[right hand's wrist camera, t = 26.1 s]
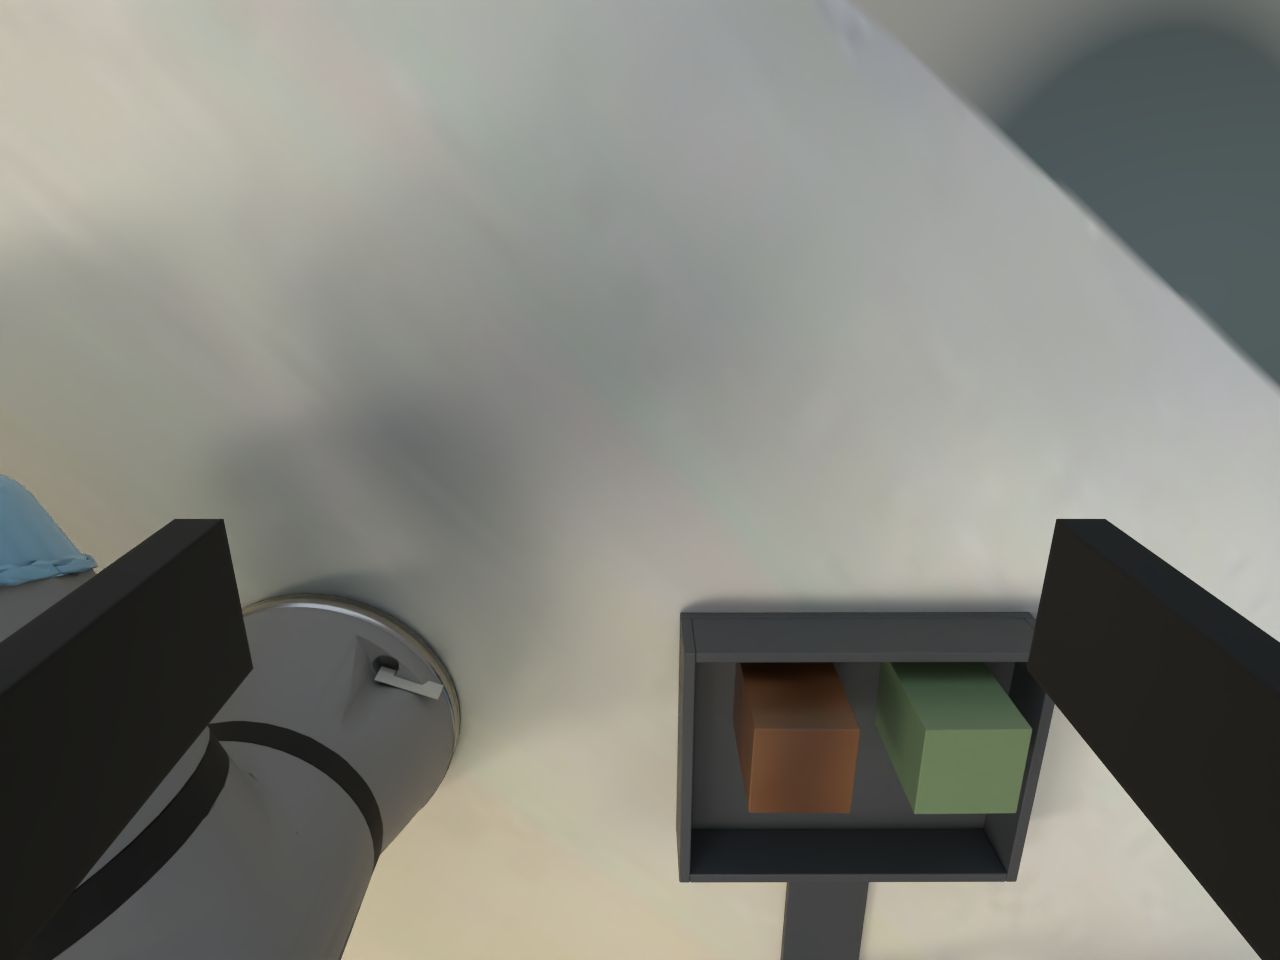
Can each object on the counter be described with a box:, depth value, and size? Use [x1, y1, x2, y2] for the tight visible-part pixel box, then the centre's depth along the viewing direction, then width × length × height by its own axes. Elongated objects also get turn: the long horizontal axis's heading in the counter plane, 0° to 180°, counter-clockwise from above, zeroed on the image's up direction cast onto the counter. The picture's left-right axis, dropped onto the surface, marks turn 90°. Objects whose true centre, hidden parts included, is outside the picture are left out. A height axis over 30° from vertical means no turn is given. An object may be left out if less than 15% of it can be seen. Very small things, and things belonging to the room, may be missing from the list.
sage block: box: [875, 662, 1032, 814], centre depth 41 cm, size 5×5×7 cm
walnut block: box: [733, 662, 860, 813], centre depth 41 cm, size 5×5×7 cm
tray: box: [676, 612, 1055, 960], centre depth 46 cm, size 19×35×6 cm, turn 0°
